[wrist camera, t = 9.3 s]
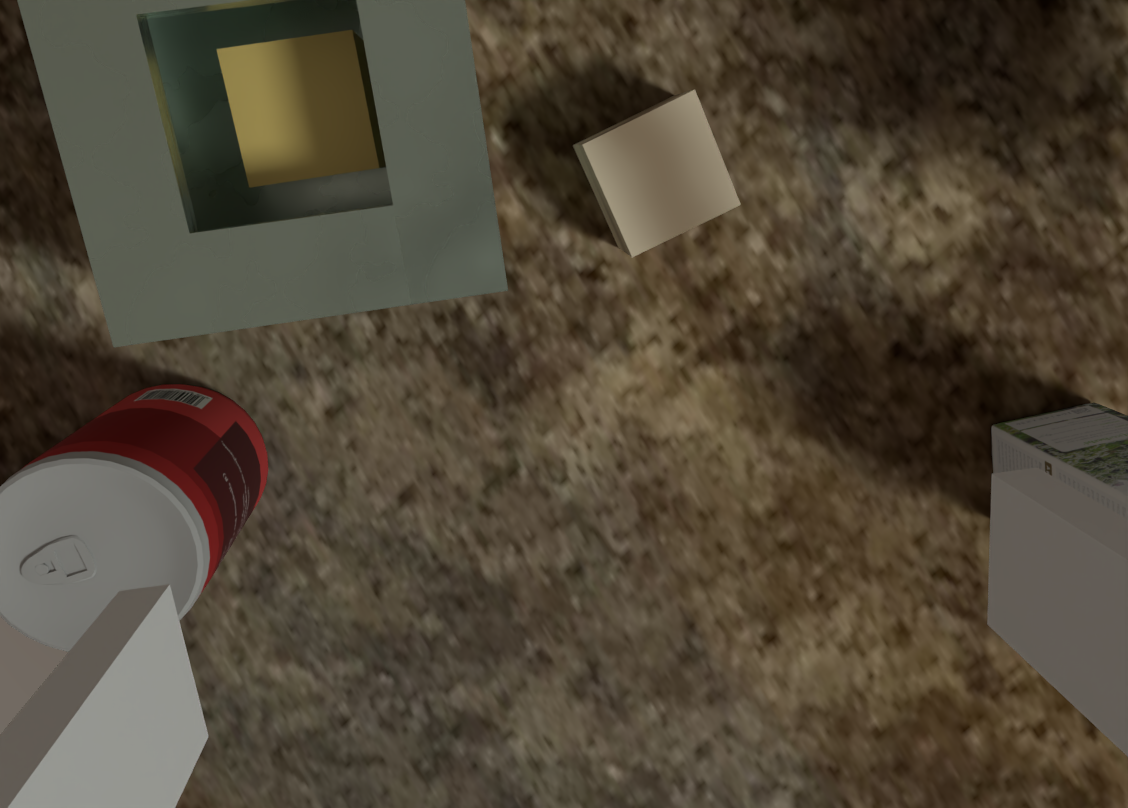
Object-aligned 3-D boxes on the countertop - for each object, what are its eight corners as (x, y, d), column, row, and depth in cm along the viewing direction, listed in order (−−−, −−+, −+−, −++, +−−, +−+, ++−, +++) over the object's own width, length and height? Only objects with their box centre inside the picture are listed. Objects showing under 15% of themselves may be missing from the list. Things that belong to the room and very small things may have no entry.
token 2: (674, 95, 40) (694, 89, 36) (716, 199, 41) (740, 204, 37) (572, 145, 40) (582, 144, 36) (618, 247, 41) (632, 257, 38)
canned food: (61, 438, 41) (-82, 535, 31) (203, 345, 41) (107, 412, 30) (169, 563, 43) (69, 696, 33) (305, 477, 43) (249, 583, 32)
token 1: (365, 42, 37) (352, 29, 33) (389, 166, 38) (379, 168, 35) (243, 60, 37) (216, 49, 33) (272, 184, 38) (249, 187, 34)
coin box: (451, -77, 37) (442, -147, 28) (502, 261, 41) (508, 290, 32) (107, -35, 36) (-9, -94, 28) (192, 305, 40) (113, 347, 32)
